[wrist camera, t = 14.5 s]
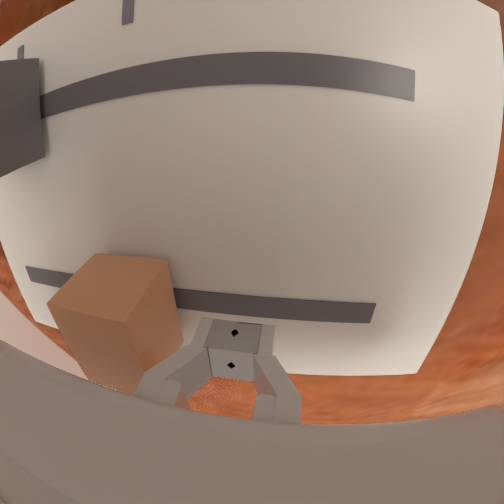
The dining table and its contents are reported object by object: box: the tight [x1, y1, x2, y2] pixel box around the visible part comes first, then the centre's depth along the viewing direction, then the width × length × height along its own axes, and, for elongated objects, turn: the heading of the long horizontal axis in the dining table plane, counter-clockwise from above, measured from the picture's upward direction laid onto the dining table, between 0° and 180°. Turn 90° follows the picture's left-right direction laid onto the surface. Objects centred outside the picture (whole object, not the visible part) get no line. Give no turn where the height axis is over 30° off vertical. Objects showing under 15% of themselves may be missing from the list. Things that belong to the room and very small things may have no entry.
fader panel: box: [0, 0, 504, 375], centre depth 12 cm, size 28×20×2 cm
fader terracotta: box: [46, 253, 184, 395], centre depth 12 cm, size 4×5×4 cm
